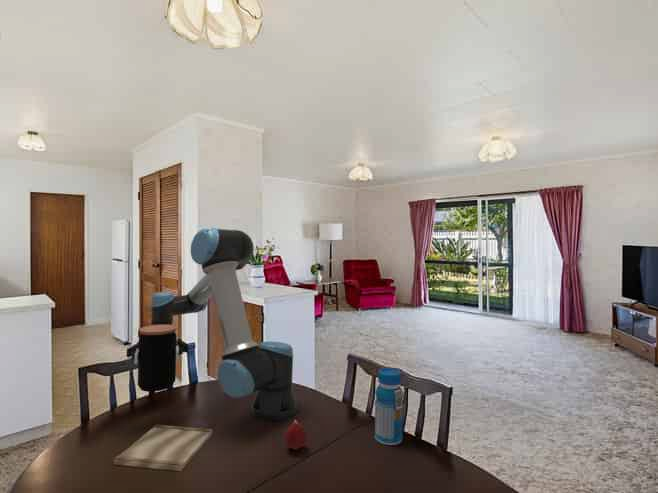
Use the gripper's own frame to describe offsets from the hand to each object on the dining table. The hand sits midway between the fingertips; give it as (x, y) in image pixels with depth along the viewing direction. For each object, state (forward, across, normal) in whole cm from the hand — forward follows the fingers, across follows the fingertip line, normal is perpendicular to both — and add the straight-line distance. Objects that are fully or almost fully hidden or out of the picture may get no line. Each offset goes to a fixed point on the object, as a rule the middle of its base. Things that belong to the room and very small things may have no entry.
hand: (157, 357), depth 109 cm
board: (+11, -4, -22) cm, 25 cm away
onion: (+24, -36, -22) cm, 49 cm away
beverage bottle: (+28, -64, -22) cm, 74 cm away
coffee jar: (-4, 0, -10) cm, 11 cm away
